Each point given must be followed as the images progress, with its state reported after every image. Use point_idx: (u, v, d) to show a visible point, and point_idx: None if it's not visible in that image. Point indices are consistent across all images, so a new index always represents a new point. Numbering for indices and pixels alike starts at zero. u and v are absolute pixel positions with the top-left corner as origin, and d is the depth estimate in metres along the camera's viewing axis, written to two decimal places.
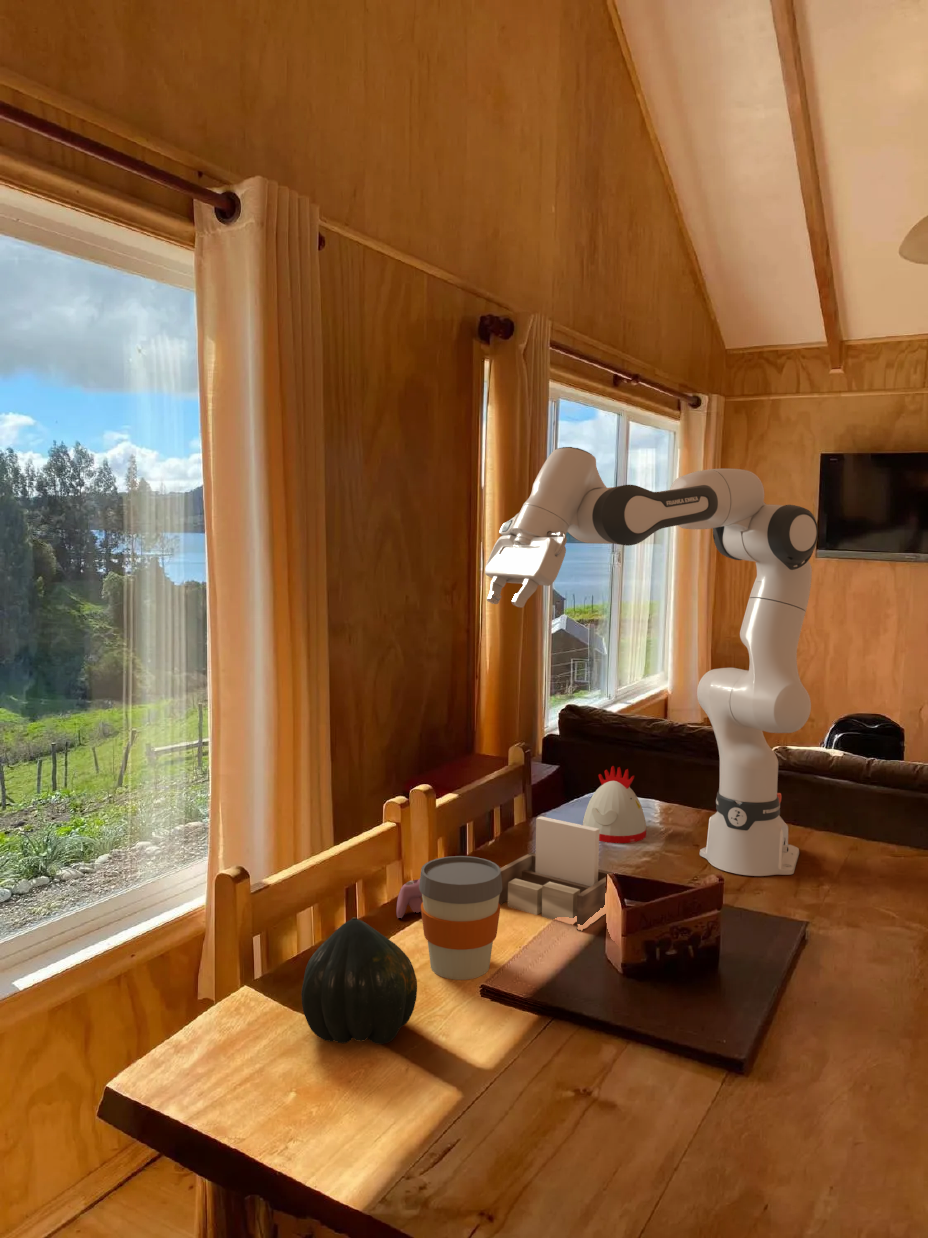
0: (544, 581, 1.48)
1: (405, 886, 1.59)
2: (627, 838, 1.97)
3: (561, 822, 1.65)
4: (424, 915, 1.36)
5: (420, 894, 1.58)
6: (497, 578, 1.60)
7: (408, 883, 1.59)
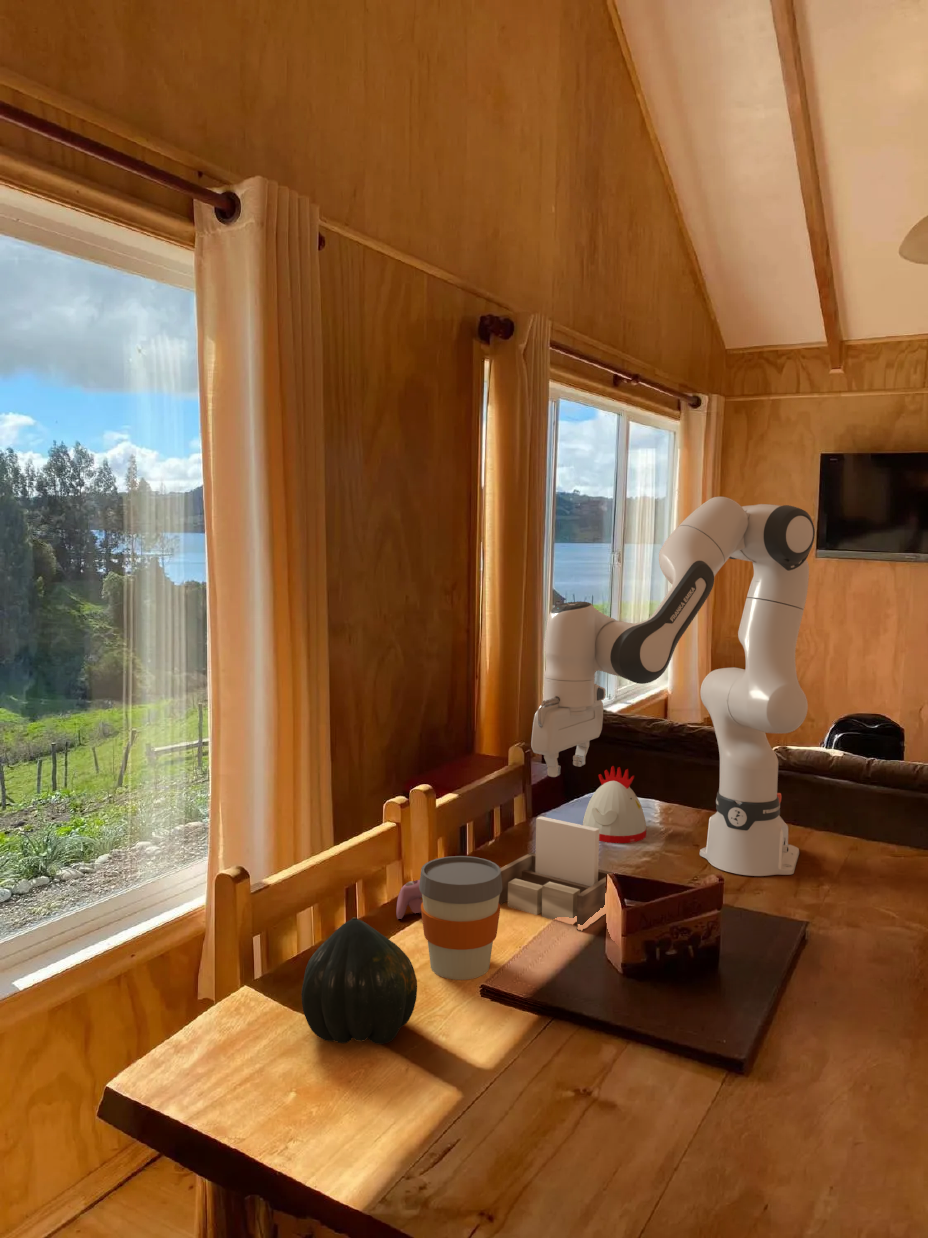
0: (541, 753, 1.55)
1: (405, 887, 1.58)
2: (627, 838, 1.97)
3: (561, 822, 1.65)
4: (424, 915, 1.36)
5: (420, 895, 1.58)
6: None
7: (408, 884, 1.59)
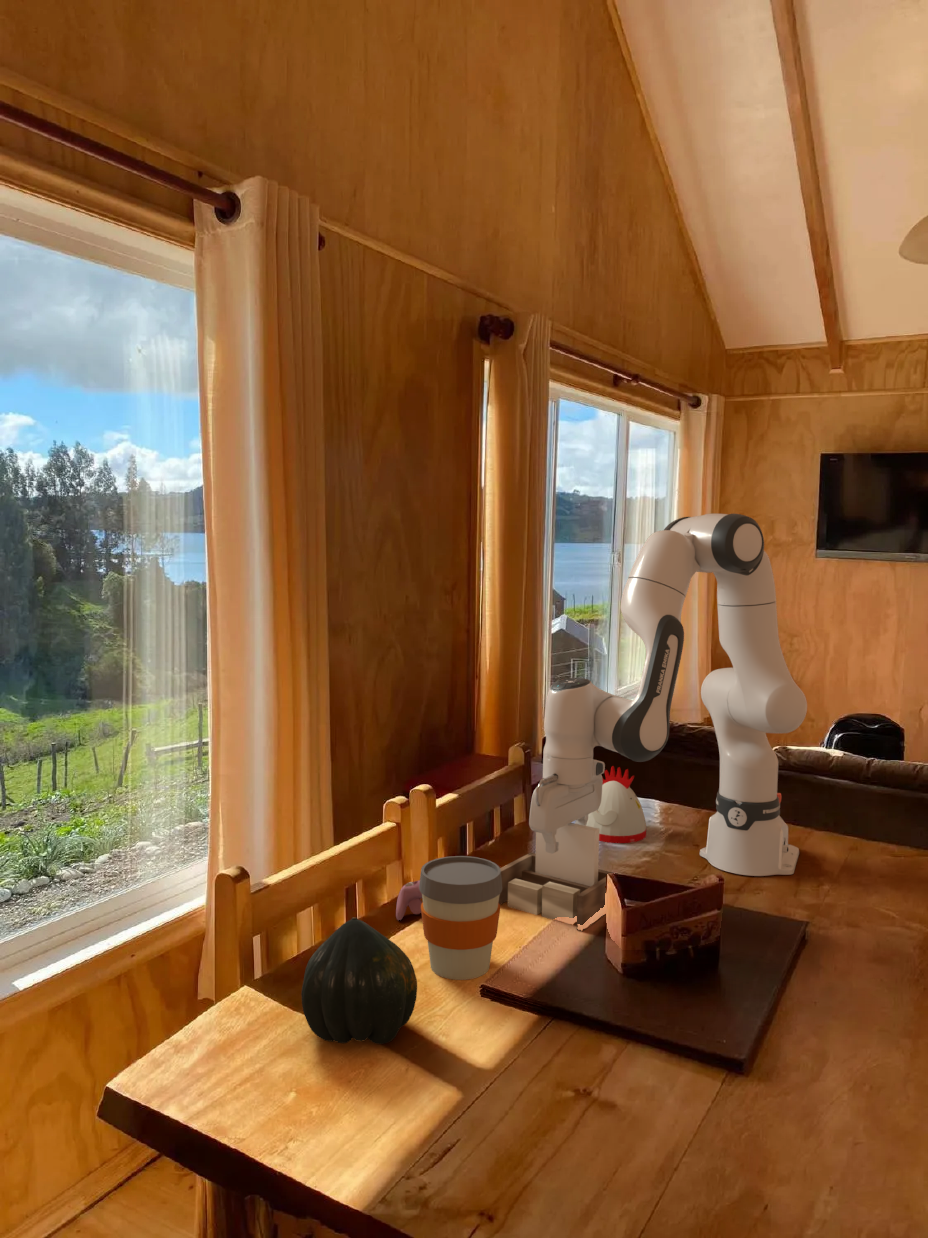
0: (539, 832, 1.56)
1: (405, 887, 1.58)
2: (627, 838, 1.97)
3: None
4: (424, 915, 1.36)
5: (420, 895, 1.57)
6: None
7: (408, 884, 1.58)
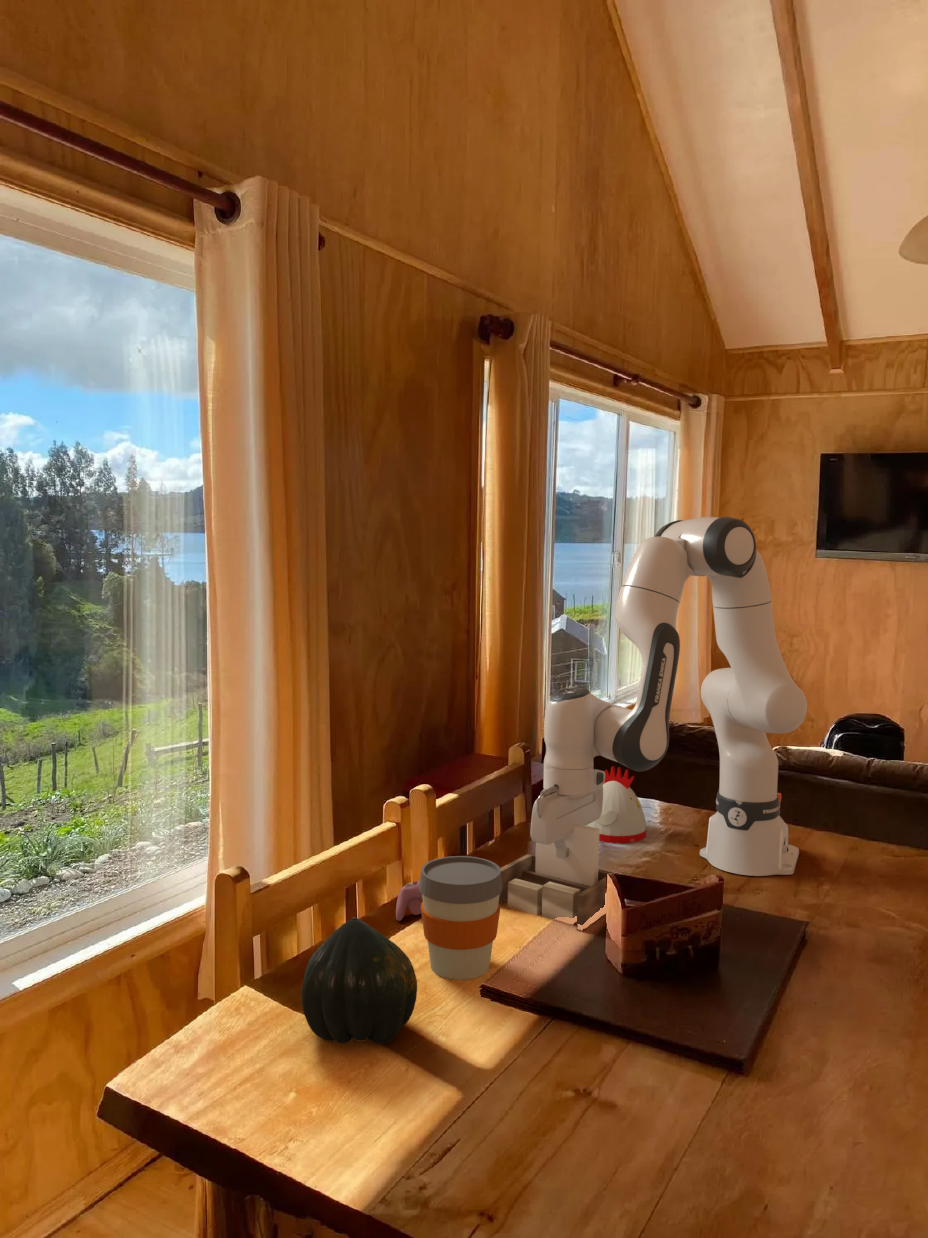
0: (540, 843, 1.57)
1: (404, 888, 1.58)
2: (627, 838, 1.97)
3: None
4: (424, 915, 1.36)
5: (419, 896, 1.57)
6: None
7: (407, 885, 1.58)
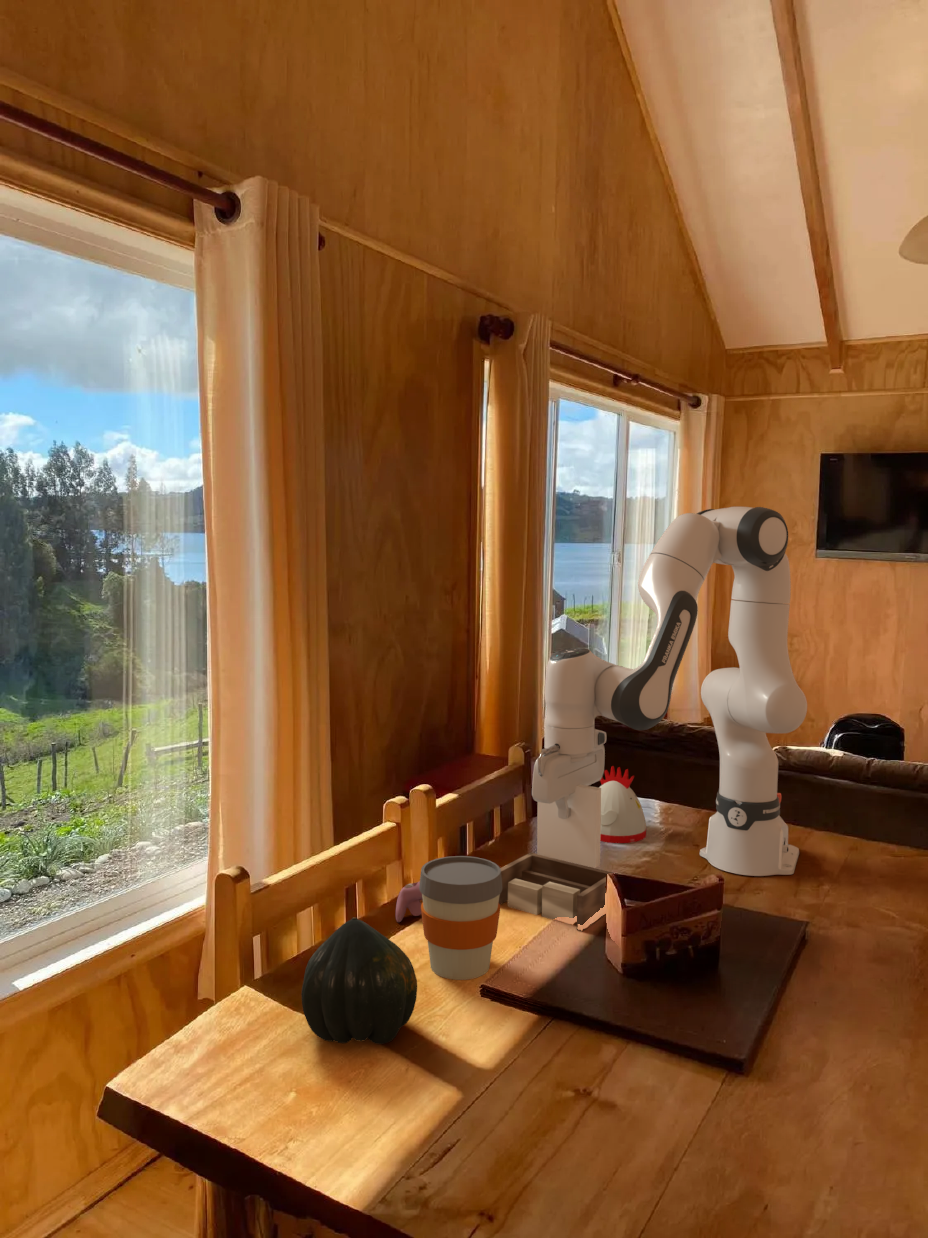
0: (542, 802, 1.56)
1: (404, 889, 1.57)
2: (627, 838, 1.97)
3: None
4: (424, 915, 1.36)
5: (419, 897, 1.57)
6: None
7: (407, 886, 1.58)
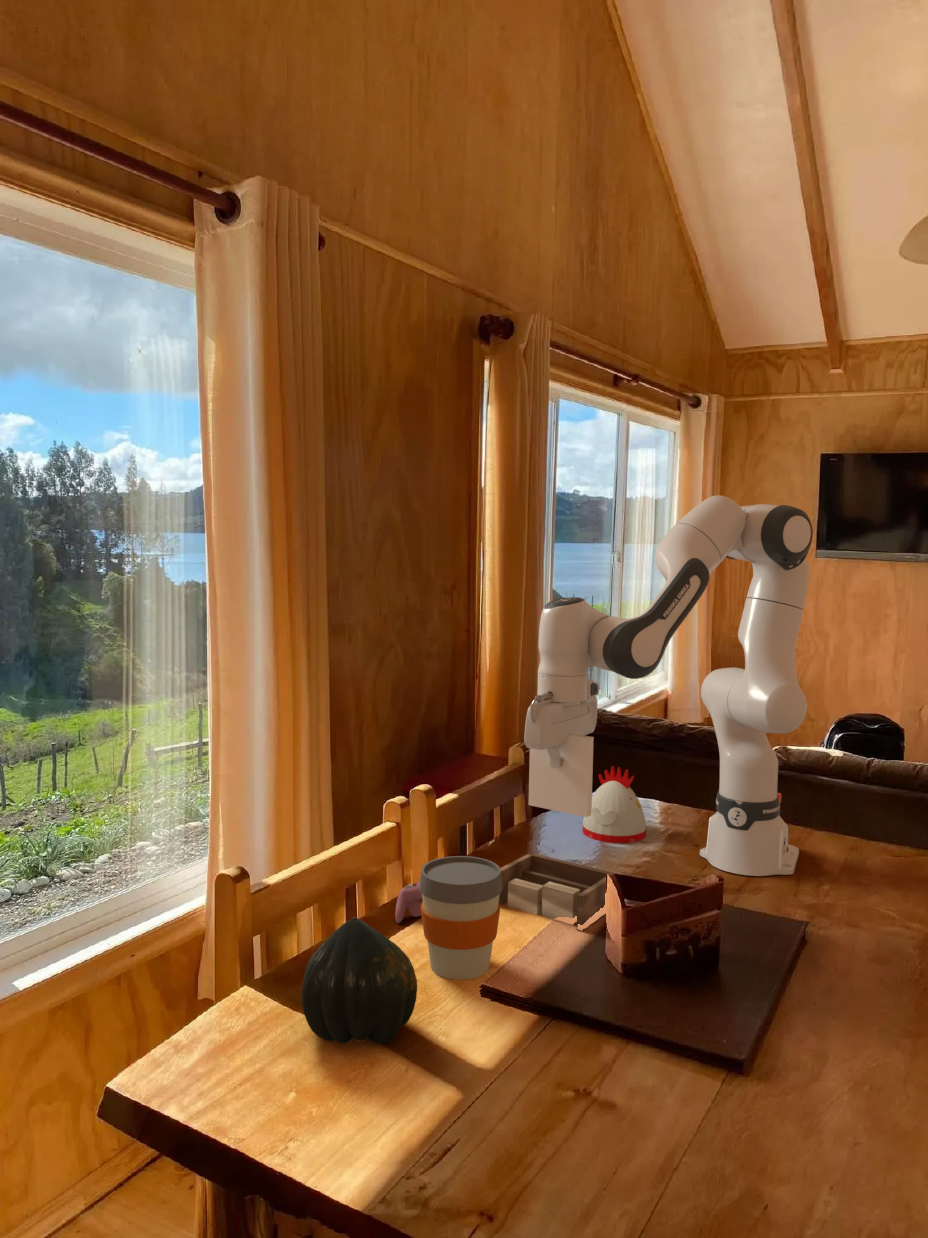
0: (534, 748, 1.56)
1: (404, 890, 1.57)
2: (627, 838, 1.97)
3: None
4: (424, 915, 1.36)
5: (419, 898, 1.56)
6: None
7: (407, 887, 1.57)
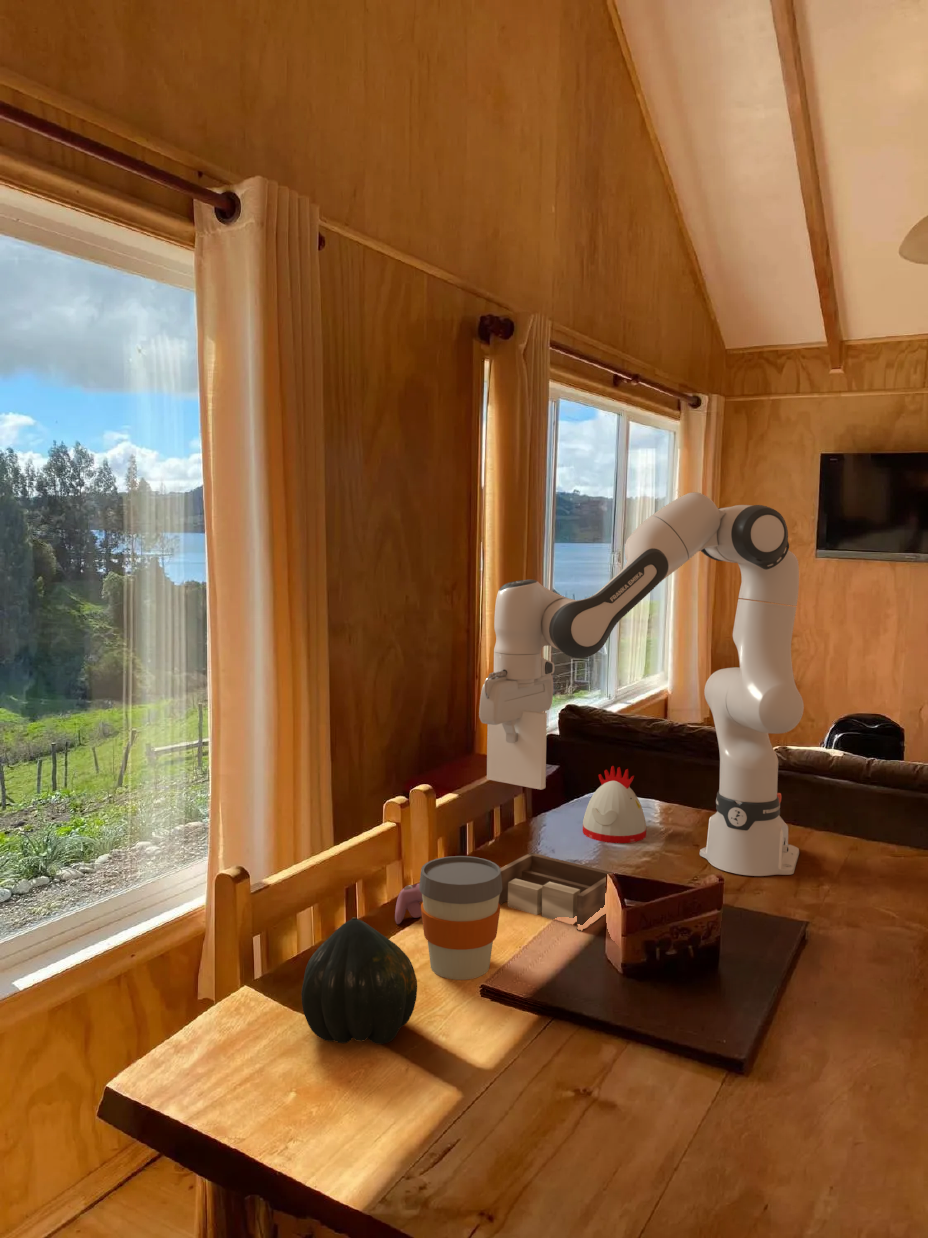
0: (489, 723, 1.63)
1: (404, 891, 1.56)
2: (627, 838, 1.97)
3: None
4: (424, 915, 1.36)
5: (419, 899, 1.56)
6: None
7: (407, 888, 1.57)
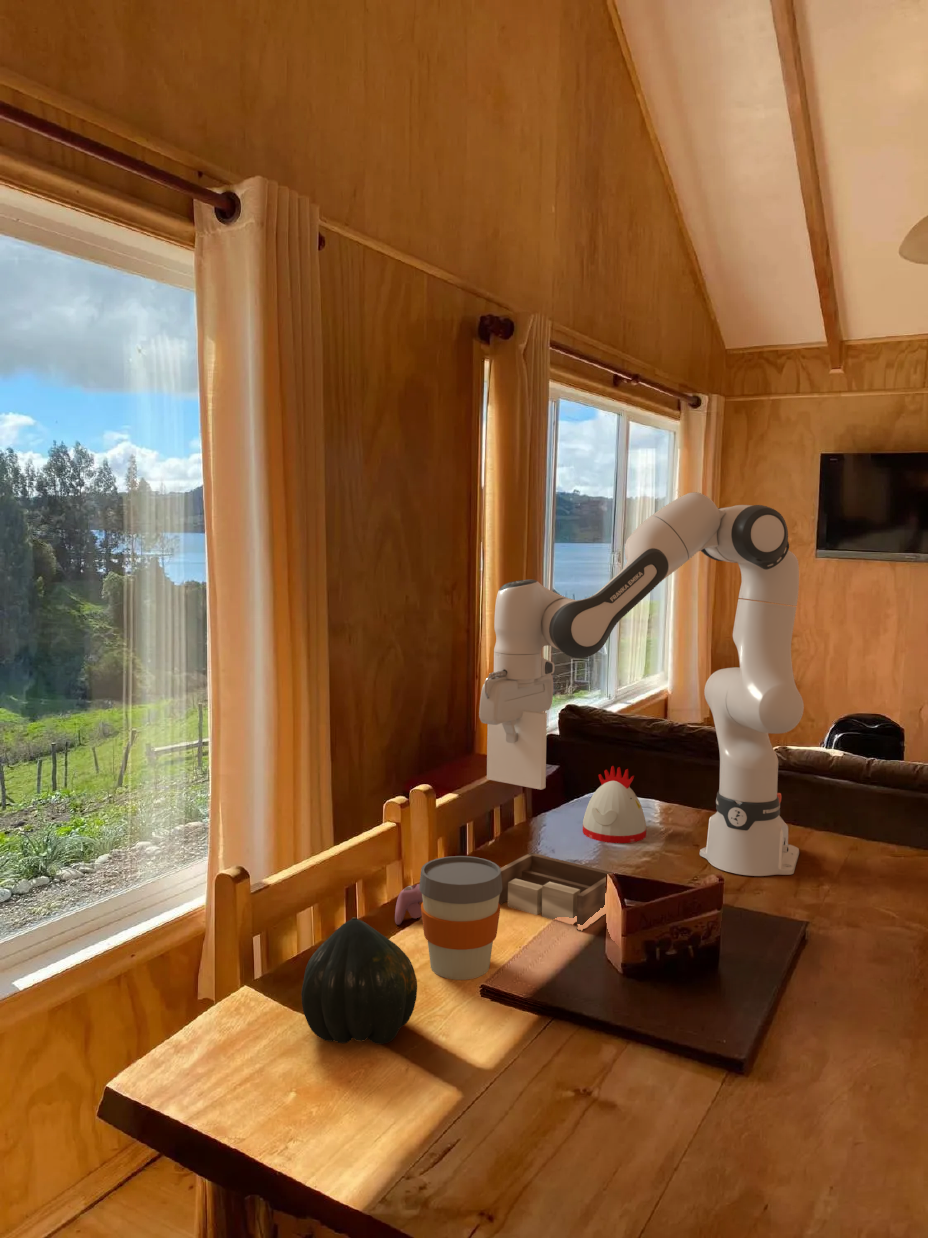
0: (489, 723, 1.63)
1: (403, 891, 1.56)
2: (627, 838, 1.97)
3: None
4: (424, 915, 1.36)
5: (419, 899, 1.56)
6: None
7: (407, 888, 1.56)
